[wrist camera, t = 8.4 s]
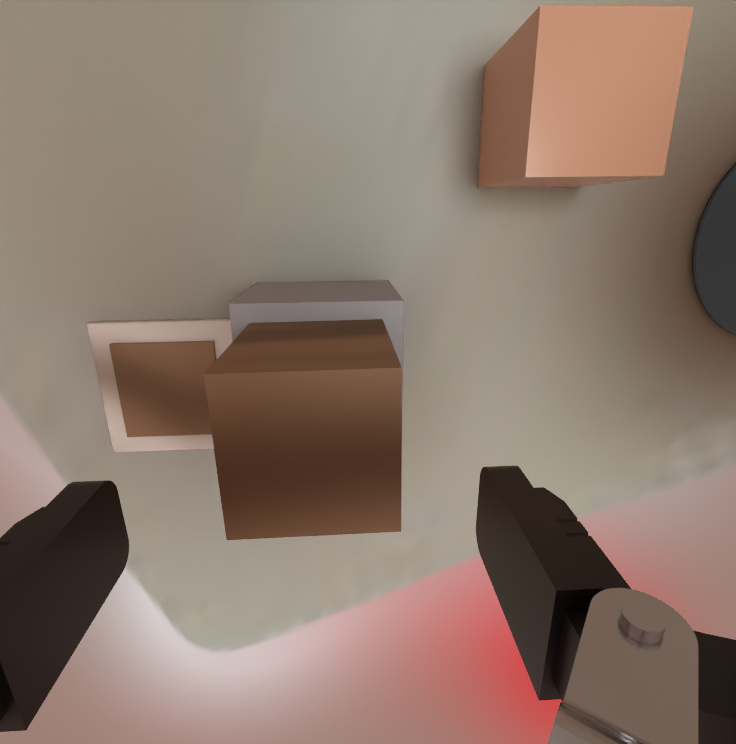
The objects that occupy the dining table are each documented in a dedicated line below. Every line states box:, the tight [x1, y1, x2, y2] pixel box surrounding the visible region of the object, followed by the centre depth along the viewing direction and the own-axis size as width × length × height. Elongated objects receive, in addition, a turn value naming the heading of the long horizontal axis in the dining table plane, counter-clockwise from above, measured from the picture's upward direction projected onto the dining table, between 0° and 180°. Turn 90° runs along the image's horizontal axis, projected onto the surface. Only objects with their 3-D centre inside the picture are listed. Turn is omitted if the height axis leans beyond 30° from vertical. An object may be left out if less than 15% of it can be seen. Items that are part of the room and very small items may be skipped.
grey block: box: [229, 280, 404, 451], centre depth 21 cm, size 6×6×6 cm
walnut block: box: [204, 319, 402, 540], centre depth 15 cm, size 5×5×6 cm
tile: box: [87, 319, 233, 452], centre depth 24 cm, size 7×7×1 cm
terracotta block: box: [478, 6, 694, 188], centre depth 18 cm, size 5×5×6 cm
